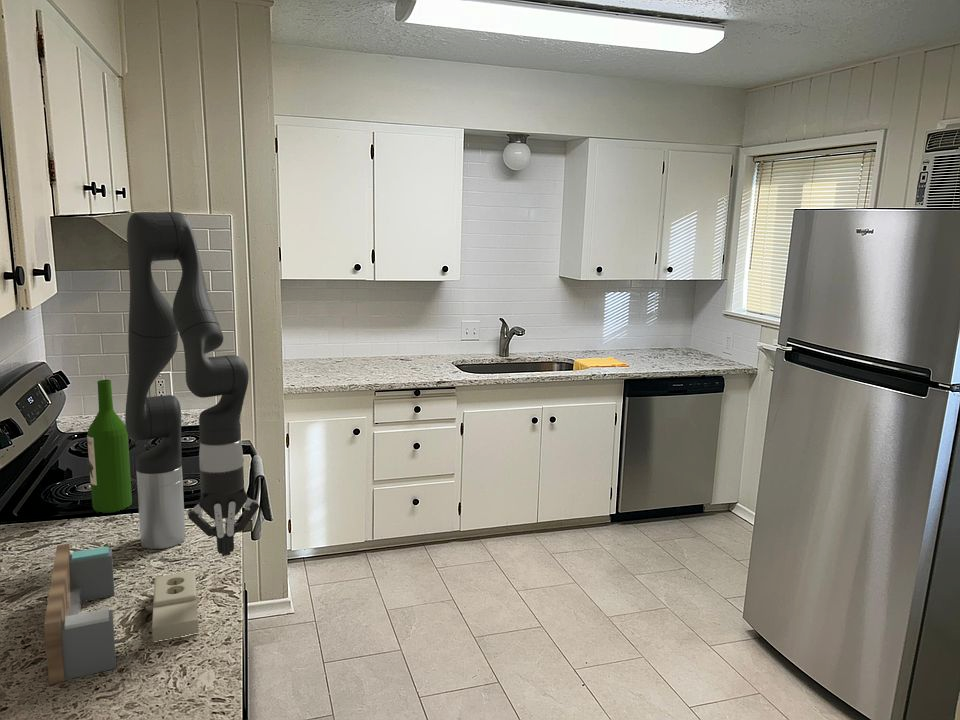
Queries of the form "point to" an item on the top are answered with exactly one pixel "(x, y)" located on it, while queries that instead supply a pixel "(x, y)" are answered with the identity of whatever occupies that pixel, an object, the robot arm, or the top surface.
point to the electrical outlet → (174, 606)
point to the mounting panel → (57, 613)
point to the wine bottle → (108, 456)
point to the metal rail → (74, 600)
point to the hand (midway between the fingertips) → (225, 554)
